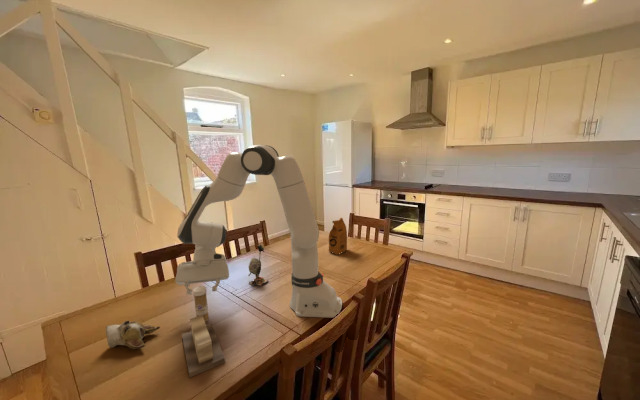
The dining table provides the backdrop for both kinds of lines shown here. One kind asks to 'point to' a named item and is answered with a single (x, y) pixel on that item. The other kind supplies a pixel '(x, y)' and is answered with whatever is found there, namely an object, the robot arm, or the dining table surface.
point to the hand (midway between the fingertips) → (201, 292)
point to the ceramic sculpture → (128, 334)
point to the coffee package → (338, 237)
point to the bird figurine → (256, 269)
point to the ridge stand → (201, 347)
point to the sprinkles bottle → (201, 302)
